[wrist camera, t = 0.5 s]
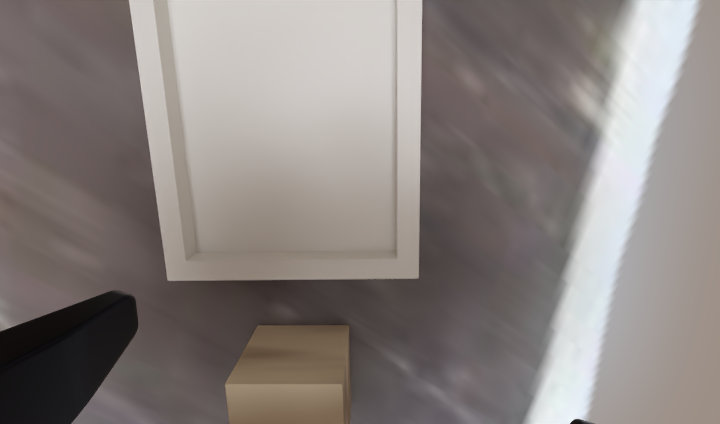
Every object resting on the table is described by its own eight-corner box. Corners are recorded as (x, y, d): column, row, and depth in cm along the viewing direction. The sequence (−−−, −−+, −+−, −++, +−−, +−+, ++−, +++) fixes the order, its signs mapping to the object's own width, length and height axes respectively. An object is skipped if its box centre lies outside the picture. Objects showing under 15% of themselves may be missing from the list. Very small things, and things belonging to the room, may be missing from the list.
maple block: (351, 403, 22) (345, 481, 18) (264, 403, 23) (235, 480, 18) (349, 324, 21) (342, 384, 16) (258, 324, 21) (225, 384, 17)
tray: (414, 263, 20) (418, 278, 18) (186, 266, 21) (167, 280, 19) (417, -37, 17) (423, -57, 15) (150, -27, 18) (122, -46, 16)
